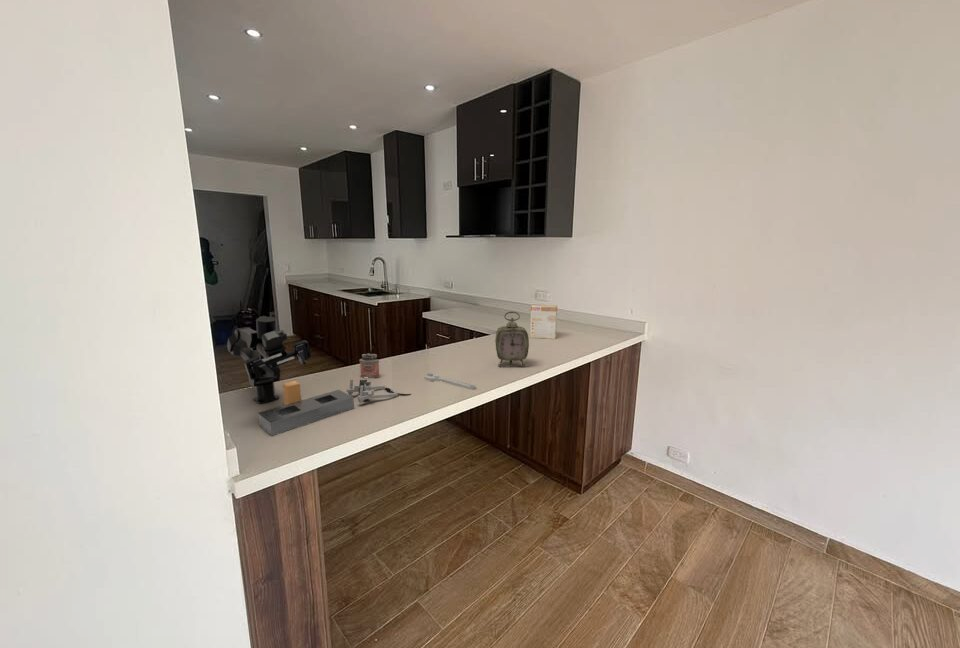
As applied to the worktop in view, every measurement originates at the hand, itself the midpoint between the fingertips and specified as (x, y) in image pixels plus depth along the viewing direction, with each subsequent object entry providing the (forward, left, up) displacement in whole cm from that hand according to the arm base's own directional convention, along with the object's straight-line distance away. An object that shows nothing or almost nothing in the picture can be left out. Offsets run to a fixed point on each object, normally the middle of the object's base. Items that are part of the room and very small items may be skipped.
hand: (290, 369), depth 116 cm
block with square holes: (0, +4, -17) cm, 18 cm away
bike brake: (+1, +30, -17) cm, 34 cm away
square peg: (-12, +4, -17) cm, 22 cm away
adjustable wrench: (+10, +56, -18) cm, 59 cm away
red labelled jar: (-19, +38, -17) cm, 46 cm away
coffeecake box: (-6, +148, -17) cm, 150 cm away
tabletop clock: (+14, +91, -17) cm, 94 cm away
